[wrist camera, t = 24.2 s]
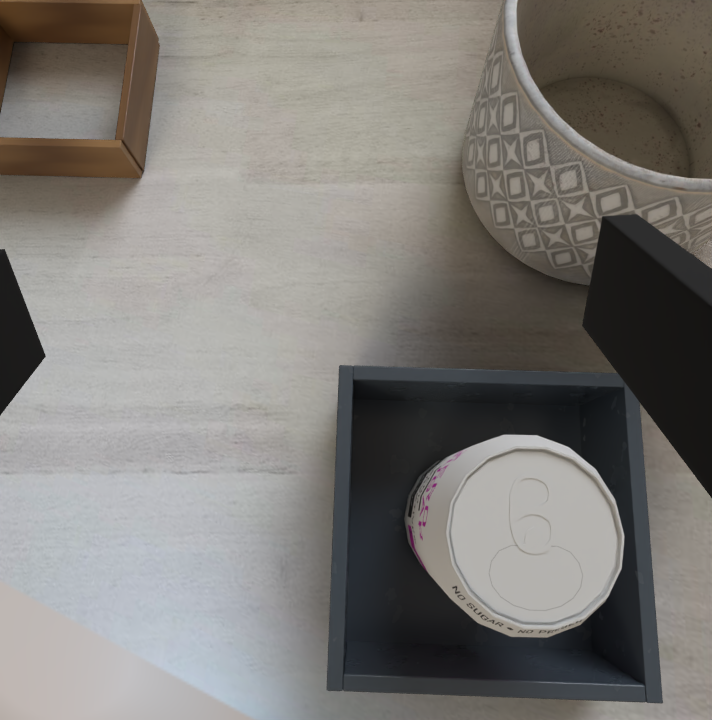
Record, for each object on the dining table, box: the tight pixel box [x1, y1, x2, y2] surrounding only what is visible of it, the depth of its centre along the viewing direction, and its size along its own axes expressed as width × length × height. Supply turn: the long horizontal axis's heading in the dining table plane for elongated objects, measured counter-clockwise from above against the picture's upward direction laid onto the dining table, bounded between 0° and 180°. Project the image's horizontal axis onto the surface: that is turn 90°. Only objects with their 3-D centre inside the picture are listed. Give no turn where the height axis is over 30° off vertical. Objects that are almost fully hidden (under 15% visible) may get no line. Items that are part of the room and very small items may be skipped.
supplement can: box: [404, 435, 625, 638], centre depth 30 cm, size 8×8×15 cm
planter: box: [462, 0, 712, 285], centre depth 37 cm, size 19×19×14 cm
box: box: [0, 0, 160, 178], centre depth 44 cm, size 12×12×4 cm
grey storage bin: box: [327, 365, 663, 703], centre depth 35 cm, size 17×17×8 cm
